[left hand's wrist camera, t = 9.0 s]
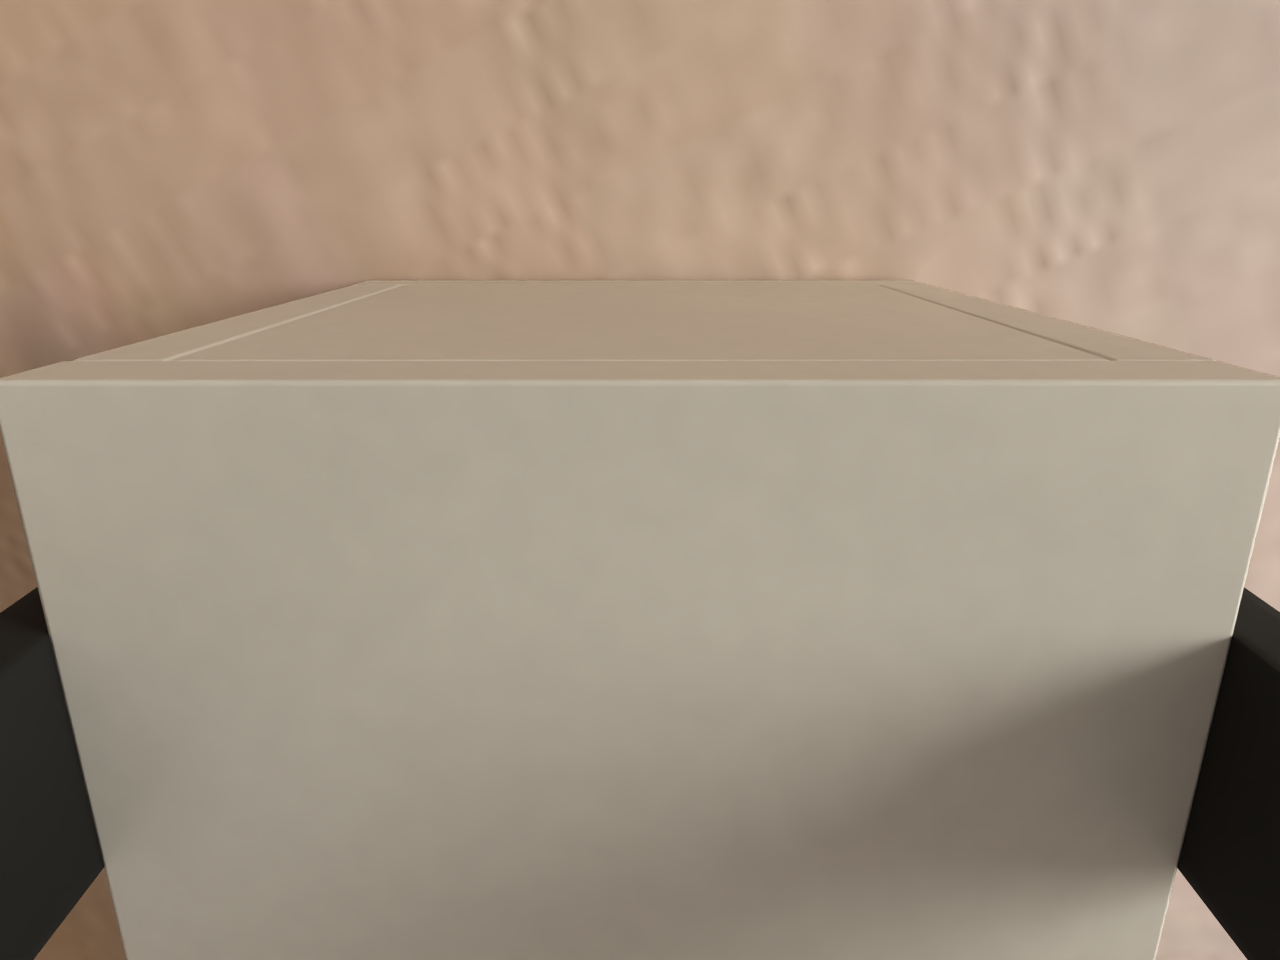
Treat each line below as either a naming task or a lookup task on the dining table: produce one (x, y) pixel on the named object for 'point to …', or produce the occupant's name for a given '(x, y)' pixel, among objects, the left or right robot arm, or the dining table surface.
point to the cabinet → (640, 620)
